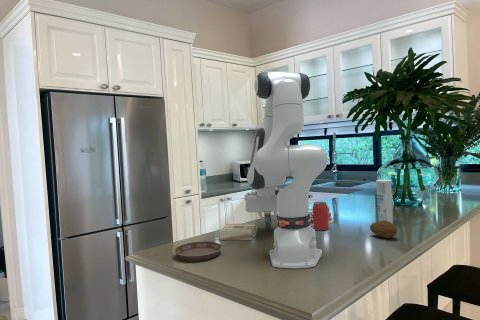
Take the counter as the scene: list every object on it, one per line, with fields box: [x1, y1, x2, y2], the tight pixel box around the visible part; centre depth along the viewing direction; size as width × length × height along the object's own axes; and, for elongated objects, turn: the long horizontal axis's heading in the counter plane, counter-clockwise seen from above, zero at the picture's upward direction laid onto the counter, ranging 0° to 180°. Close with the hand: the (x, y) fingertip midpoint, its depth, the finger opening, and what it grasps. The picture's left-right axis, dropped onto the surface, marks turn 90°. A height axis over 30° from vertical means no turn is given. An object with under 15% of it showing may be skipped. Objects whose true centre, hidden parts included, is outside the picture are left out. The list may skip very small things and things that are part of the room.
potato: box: [369, 220, 398, 239], centre depth 142 cm, size 7×12×7 cm, turn 36°
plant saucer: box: [174, 241, 223, 262], centre depth 135 cm, size 18×18×3 cm
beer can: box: [312, 201, 330, 231], centre depth 161 cm, size 7×7×12 cm
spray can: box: [375, 179, 394, 225], centre depth 163 cm, size 6×6×20 cm
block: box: [218, 222, 258, 241], centre depth 159 cm, size 14×14×4 cm
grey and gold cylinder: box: [263, 212, 273, 232], centre depth 166 cm, size 3×3×9 cm
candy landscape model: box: [308, 204, 333, 227], centre depth 179 cm, size 25×24×9 cm
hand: (268, 221), depth 166 cm, fingers open, 3 cm apart
